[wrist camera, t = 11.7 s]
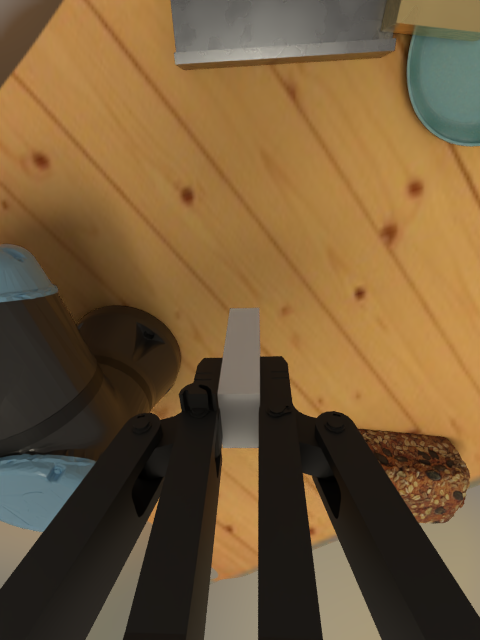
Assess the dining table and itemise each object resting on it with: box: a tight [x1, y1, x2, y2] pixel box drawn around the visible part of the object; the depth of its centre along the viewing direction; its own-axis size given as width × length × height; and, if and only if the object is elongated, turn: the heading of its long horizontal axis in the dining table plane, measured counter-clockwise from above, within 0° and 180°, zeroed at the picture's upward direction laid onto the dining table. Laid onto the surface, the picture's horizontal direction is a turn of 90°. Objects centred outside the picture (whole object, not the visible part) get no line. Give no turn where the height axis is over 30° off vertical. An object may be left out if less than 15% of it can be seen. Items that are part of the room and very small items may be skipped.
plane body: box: [171, 0, 396, 70], centre depth 29 cm, size 18×8×4 cm, turn 93°
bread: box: [358, 429, 470, 524], centre depth 53 cm, size 19×11×10 cm, turn 84°
